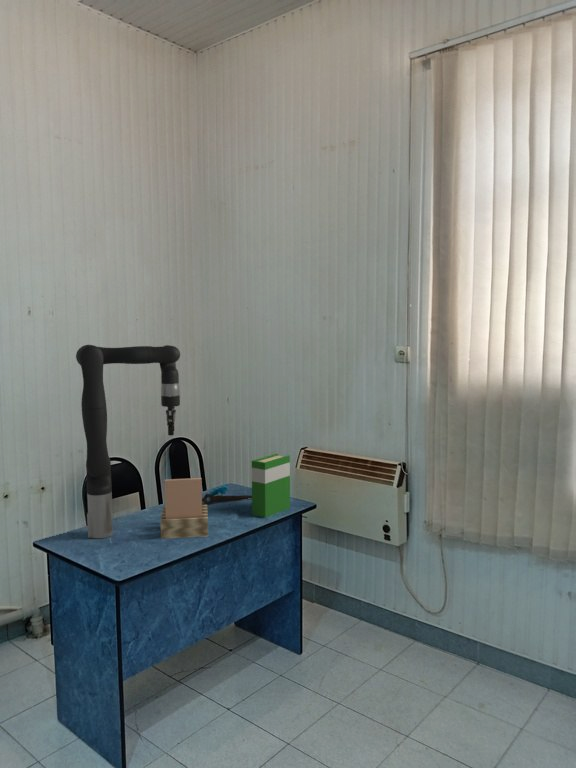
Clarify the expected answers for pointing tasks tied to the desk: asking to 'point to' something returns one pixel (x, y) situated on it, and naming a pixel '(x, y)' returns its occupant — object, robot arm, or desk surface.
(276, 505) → the hardback book
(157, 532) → the desk surface
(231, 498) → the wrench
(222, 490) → the gear
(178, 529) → the rack
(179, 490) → the tall sheet
